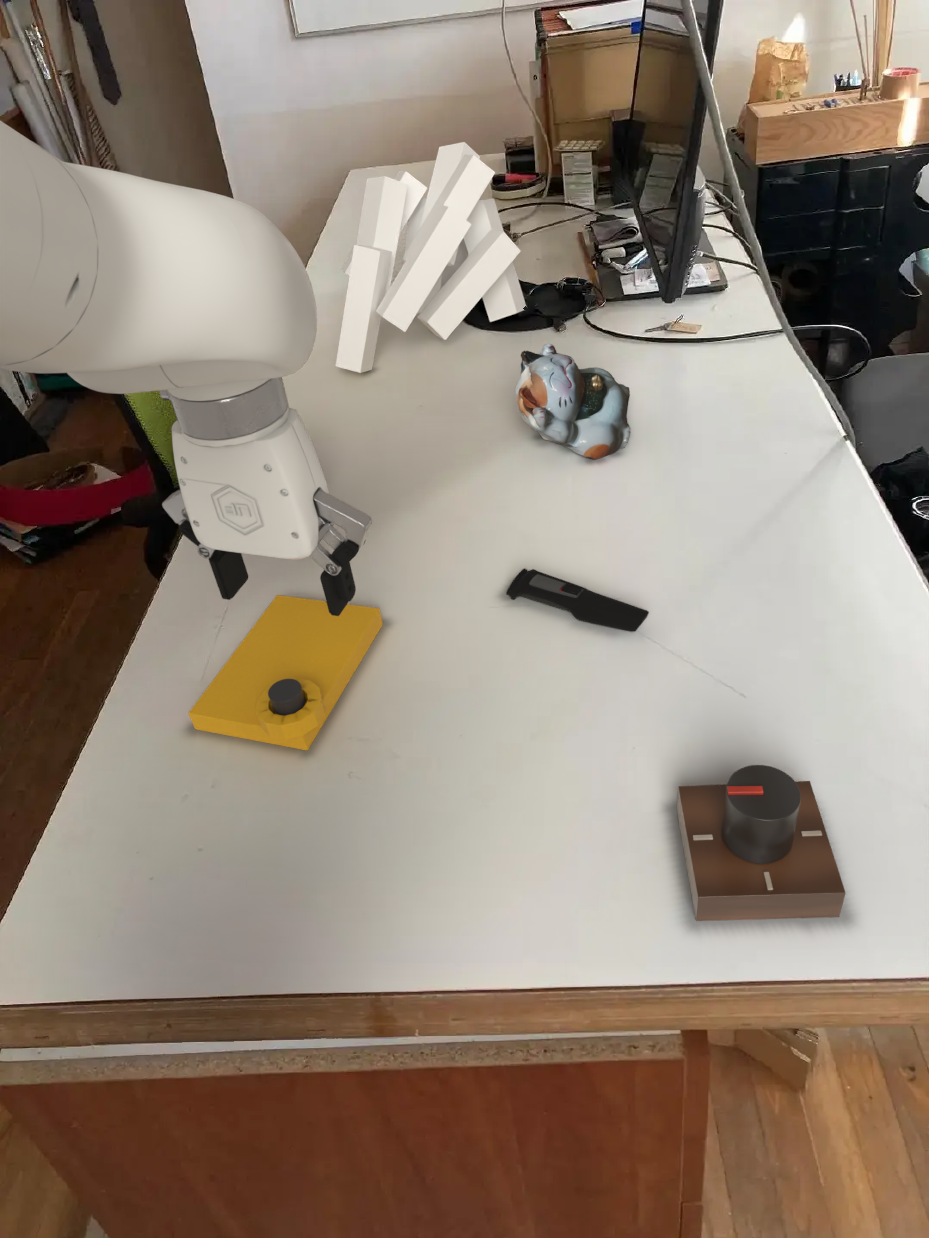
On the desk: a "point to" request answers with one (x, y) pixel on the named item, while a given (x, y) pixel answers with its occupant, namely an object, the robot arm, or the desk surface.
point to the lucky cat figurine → (573, 403)
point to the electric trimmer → (576, 600)
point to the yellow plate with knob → (287, 671)
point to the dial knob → (760, 813)
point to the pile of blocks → (427, 256)
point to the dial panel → (750, 888)
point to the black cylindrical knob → (286, 697)
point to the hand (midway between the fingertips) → (288, 596)
